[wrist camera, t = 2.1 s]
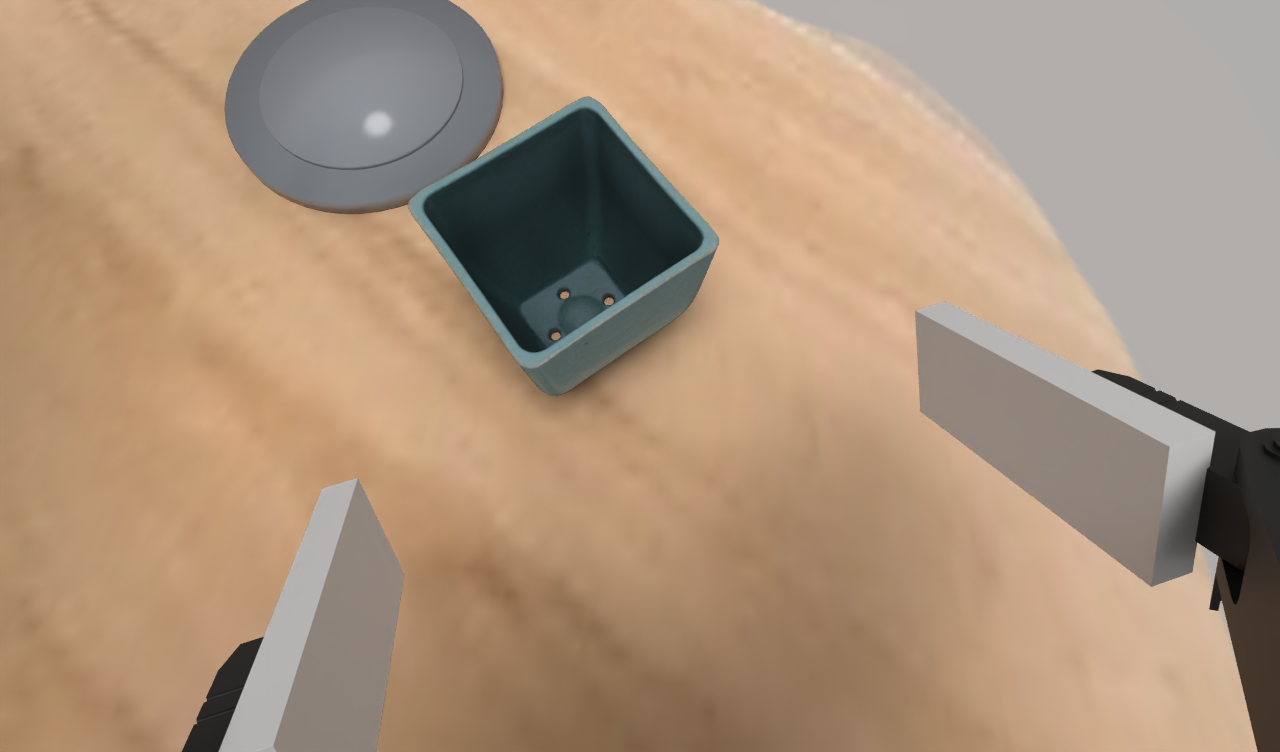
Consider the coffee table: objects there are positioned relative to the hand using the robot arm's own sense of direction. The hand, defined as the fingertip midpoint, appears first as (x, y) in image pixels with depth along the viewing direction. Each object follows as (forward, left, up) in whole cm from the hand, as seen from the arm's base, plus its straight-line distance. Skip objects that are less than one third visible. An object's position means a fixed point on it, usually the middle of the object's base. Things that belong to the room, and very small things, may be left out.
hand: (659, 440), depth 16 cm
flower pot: (-7, +9, -16) cm, 19 cm away
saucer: (-23, +18, -16) cm, 33 cm away
